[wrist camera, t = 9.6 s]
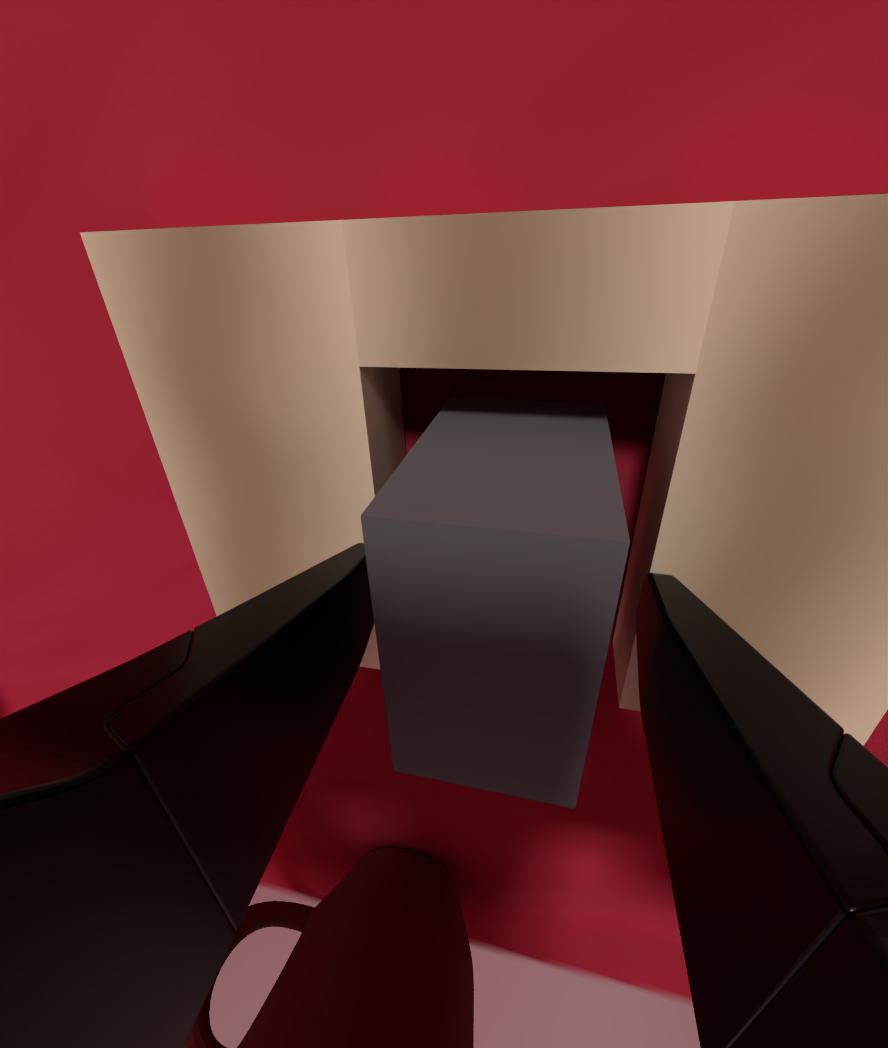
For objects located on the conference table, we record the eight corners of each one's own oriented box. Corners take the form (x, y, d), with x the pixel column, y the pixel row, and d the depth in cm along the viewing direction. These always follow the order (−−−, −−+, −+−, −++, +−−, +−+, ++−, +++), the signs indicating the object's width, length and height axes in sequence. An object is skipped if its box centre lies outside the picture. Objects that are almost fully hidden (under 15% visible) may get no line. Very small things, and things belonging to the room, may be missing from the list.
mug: (280, 869, 24) (122, 1212, 16) (260, 778, 20) (27, 1181, 11) (490, 937, 22) (439, 1358, 14) (518, 853, 18) (470, 1388, 10)
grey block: (604, 402, 9) (629, 542, 5) (574, 604, 12) (575, 809, 8) (451, 395, 10) (360, 515, 6) (454, 589, 12) (393, 770, 8)
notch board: (1065, 192, 6) (1237, 176, 5) (819, 669, 11) (862, 746, 9) (167, 232, 9) (79, 232, 8) (268, 595, 14) (227, 644, 12)
